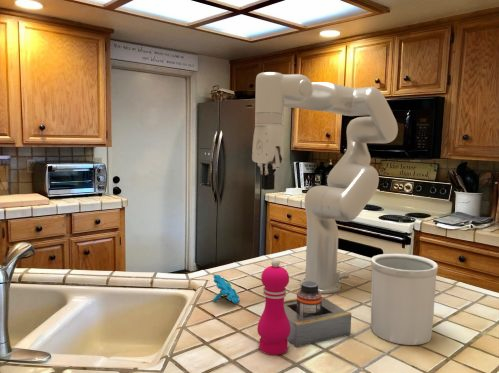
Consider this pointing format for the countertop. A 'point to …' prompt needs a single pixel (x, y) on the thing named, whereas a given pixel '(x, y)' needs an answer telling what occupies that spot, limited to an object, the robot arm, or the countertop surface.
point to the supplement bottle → (309, 300)
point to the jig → (317, 323)
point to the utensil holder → (403, 298)
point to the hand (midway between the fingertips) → (267, 189)
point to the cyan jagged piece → (225, 289)
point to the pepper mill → (274, 311)
